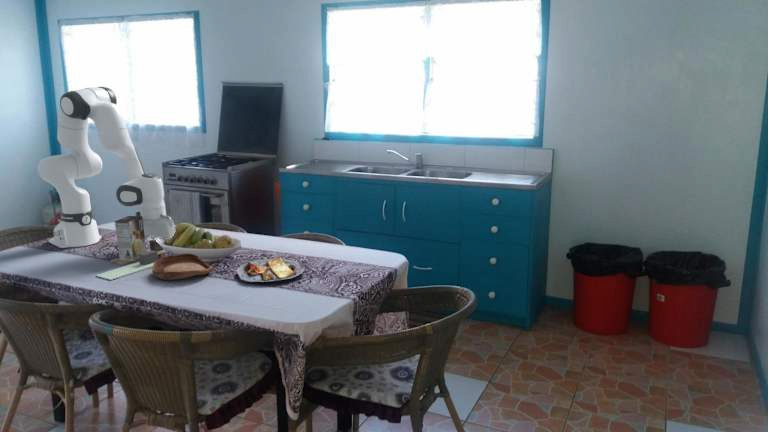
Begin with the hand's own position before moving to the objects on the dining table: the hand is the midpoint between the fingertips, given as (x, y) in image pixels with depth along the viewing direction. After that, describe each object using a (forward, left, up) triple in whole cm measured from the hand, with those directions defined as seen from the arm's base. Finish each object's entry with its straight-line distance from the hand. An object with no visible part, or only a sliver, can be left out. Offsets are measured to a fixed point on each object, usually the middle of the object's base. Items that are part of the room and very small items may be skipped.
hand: (157, 245), depth 252 cm
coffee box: (0, -12, -2) cm, 12 cm away
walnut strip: (0, -8, -2) cm, 8 cm away
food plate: (+60, +1, -3) cm, 60 cm away
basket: (+32, -15, -3) cm, 36 cm away
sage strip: (+11, -22, -2) cm, 24 cm away
